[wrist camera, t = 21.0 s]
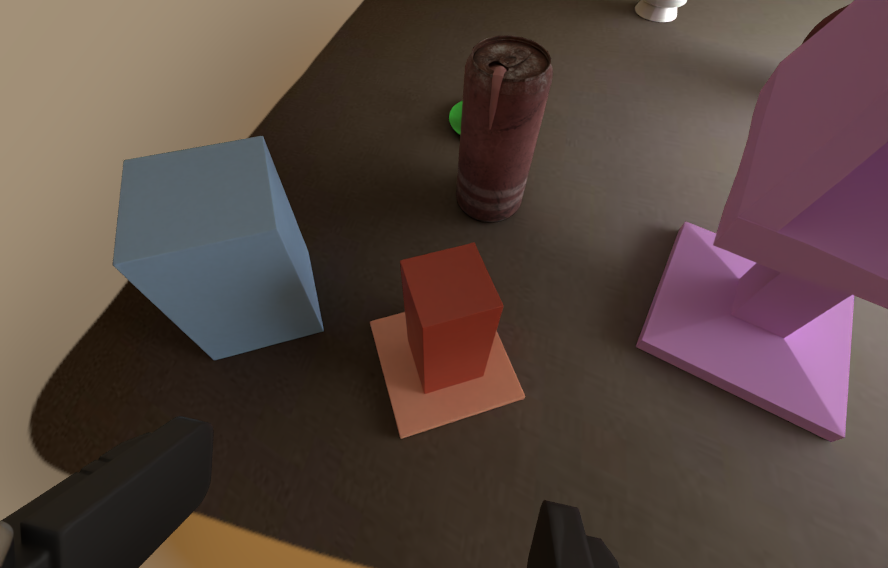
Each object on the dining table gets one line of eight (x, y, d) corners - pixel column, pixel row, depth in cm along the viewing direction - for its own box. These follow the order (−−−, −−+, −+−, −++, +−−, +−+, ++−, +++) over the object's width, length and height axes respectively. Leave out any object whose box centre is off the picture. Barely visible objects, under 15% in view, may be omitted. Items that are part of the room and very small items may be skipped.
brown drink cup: (449, 220, 39) (457, 74, 28) (463, 173, 43) (475, 26, 31) (515, 233, 39) (551, 89, 27) (523, 184, 42) (559, 38, 30)
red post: (424, 394, 30) (422, 328, 21) (407, 339, 32) (399, 260, 24) (483, 376, 31) (503, 306, 22) (463, 323, 33) (474, 242, 24)
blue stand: (214, 361, 31) (111, 265, 21) (210, 274, 35) (123, 159, 25) (324, 331, 33) (277, 229, 23) (308, 251, 37) (262, 135, 27)
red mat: (400, 439, 29) (400, 437, 28) (370, 324, 33) (369, 321, 33) (523, 399, 30) (525, 396, 30) (478, 295, 35) (479, 291, 34)
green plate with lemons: (522, 150, 45) (527, 127, 42) (445, 144, 45) (446, 121, 43) (521, 104, 49) (526, 81, 47) (451, 98, 49) (452, 75, 47)
